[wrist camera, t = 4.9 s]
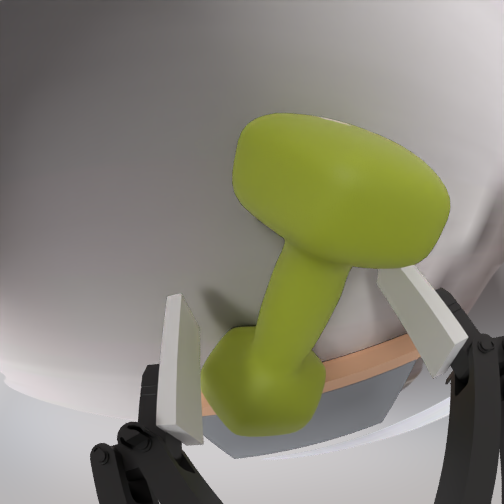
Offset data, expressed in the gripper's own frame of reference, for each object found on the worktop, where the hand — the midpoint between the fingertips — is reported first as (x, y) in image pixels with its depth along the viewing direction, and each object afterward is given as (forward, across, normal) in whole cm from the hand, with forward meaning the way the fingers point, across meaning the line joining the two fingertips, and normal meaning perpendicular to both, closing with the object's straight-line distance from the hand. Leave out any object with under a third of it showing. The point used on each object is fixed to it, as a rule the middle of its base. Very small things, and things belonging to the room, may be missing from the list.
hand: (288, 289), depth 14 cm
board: (+2, 0, -26) cm, 26 cm away
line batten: (+2, 0, -12) cm, 13 cm away
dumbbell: (+2, 0, 0) cm, 2 cm away
